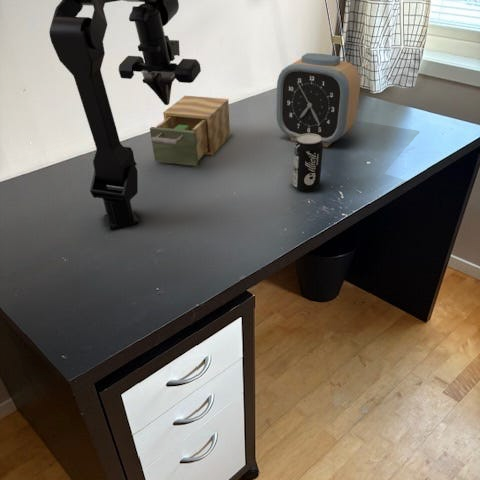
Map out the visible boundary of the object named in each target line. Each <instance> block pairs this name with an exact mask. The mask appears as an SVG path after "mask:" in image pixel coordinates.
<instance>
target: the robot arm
mask: <svg viewBox="0 0 480 480" xmlns="http://www.w3.org/2000/svg"><path fill="white" fill-rule="evenodd" d="M119 1H121V0H61V1H60V2H59V3H58V5H57V6H56V7H55V8H54V9H55V10H54V11H53V12H54V13H53V17H52V19H51V23H50V26H49V31H48V33H49V38H50V42H51V44H52V47H53V49H54V52H55V54H56V56H57V58H58V60H59V62H60V63H61V64H62V65H63V66H64V68H66V69H67V71H68V72H69V73H70V74H71V75H72V77H73V79H74V82H75V85H76V89H77V92H78V95H79V98H80V101H81V104H82V107H83V111H84V114H85V117H86V121H87V123H88V127H89V130H90V133H91V135H92V136H91V137H92V140H93V143H94V146H95V150H96V151H95V154H94V157H93V160H92V163H93V164H92V165H93V169H94V171H93V176H92V179H91V184H90V189H89V192H90V194H91V196H92V198H93V199H95V198H97V199H102V201H103V206H104V209H105V213H106V214H103V216H104V220H105V222H106V225H107V226H108V228H109V230H116V229H121V228H124V227H128V226H132V225H137V224H139V219H138V218H137V216H136V214H135V212H134V210H133V206H132V201H131V200H132V199H133V198H134V197H135V196H136V195H138V190H139V189H138V183H139V181H138V180H139V179H138V175H139V174H138V169H137V167H136V166H137V162H136V160H135V157H134V150H133V149H132V148H131V146H123V145H122V143H121V140H120V137H119V133H118V130H117V126H116V122H115V119H114V114H113V111H112V107H111V104H110V100H109V96H108V92H107V89H106V85H105V82H104V78H103V74H102V66H103V62H104V58H105V54H106V52H105V51H106V50H105V47H104V40H105V35H106V31H107V29H108V21H107V17H106V13H105V10H104V8H105V4H108V3H113V2H119ZM122 1H124V2H127V3H141V4H139V5H138V6H132V8H131V12H130V14H129V15H128V21H129V22H130V23H131V22H134V25H135V29H136V34H137V37H138V41H139V44H138V45H137V49H138V52H141V54H142V56H140V55H127V56H126V57H125V58H124V59H123V61H122V62H120V64H119V65H118V74H119V77H120V78H121V79H126V80H131V79H132V78H133V77H134V75H135V72H136V73H141V74H142V77H143V79H142V83H143V84H146V85H147V86H148V87H149V88H150V89H151V91H153V92H154V94H155V95H157V97H158V98H159V99H160V101H161V102H162V104H164V105H165V106H169V105H170V101H171V92H172V86H173V82H175V80H176V81H177V82H178V83H184V84H191V83H193V82H194V81H195V80H196V78H198V76H199V75H200V74H201V72H202V67H201V64H200V61H199V60H197V59H196V58H195V59H194V58H182V59H181V60H180V62H179V63H178V64H177V63H174V60H176V57H175V56H177V57H180V56H181V55H180V53H181V52H180V51H181V50H180V40H178V39H170V38H169V36H168V35H165V30H164V27H165V26H166V25H167V24H168V23H169V22H170V21H171V20H172V19H173V18H174V16H176V14H177V13H178V11H179V8H180V7H179V6H180V4H179V3H180V2H179V0H122ZM84 6H92V7H93V11H92V12H93V13H92V16H91V17H89V16H87V17H86V16H78V15H79V14H80V13H81V11H82V10H83V8H84Z"/></svg>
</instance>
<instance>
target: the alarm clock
mask: <svg viewBox="0 0 480 480" xmlns="http://www.w3.org/2000/svg"><path fill="white" fill-rule="evenodd" d="M360 75H361V74H360V73H359V71H358V68H357V67H356V66H355V65H354V64H353V63H351V62H348V61H346V60H345V61H344V60H342V59H341V57H340V56H339V55H335V54H334V55H333V54H325V53H317V52H316V53H313V52H307V53H305V54H303V55H301V58H300V59H298V60H297V61H295V62H293V63H291V64H289V65H287V66H286V67H284V68H283V69H282V70H281V71H280V73H279V75H278V77H277V78H278V79H277V81H276V114H275V115H276V121H277V125H278V127H279V129H280V130H281V131H282V132H283V133H284V134H285V135H286V136H289V137H290V141H293V142H296V141H297V136H299V135H301V134H306V133H312V134H317V135H319V136H321V138H322V140H321V141H322V143H323V148H328V147H329V146H330V145H332V143H334V142H336V141H338V140H340V138H341V137H343V136H344V135H345V134H347V132H348V131H349V130H351V128H353V126H354V124H355V122H356V121H357V114H358V109H359V108H358V107H359V99H360V92H361V91H360V90H361V76H360Z"/></svg>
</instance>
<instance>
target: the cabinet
mask: <svg viewBox="0 0 480 480" xmlns="http://www.w3.org/2000/svg"><path fill="white" fill-rule="evenodd" d="M162 113H163V114H162V115H163V121H164V120H165V119H166V118H167V117H169V116H178V117H189V118H200V119H207V126H208V139H209V150H208V151H207V152H206V153H205V154H204V156H206V155H207V156H213V155H214V154H215V153H216V152H217V151H218V150H219V149H220V148H221V147H222V145H223V144H224V143H226V142H227V140H229V138H230V137H231V125H230V124H231V123H230V104H229V98H224V97H223V98H222V97H221V98H220V97H219V98H218V97H210V96H209V97H207V96H197V95H195V96H194V95H184V96H183V97H181V98H180V99H179V100H177V101H176V102H175V103H173V104H171V106H169V107H168V108H167V109H165V110H164V111H163V112H162Z"/></svg>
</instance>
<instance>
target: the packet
mask: <svg viewBox="0 0 480 480" xmlns="http://www.w3.org/2000/svg"><path fill="white" fill-rule="evenodd" d="M174 129H179V130H189V126H188V125H178V126H177V127H175V128H174Z"/></svg>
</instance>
